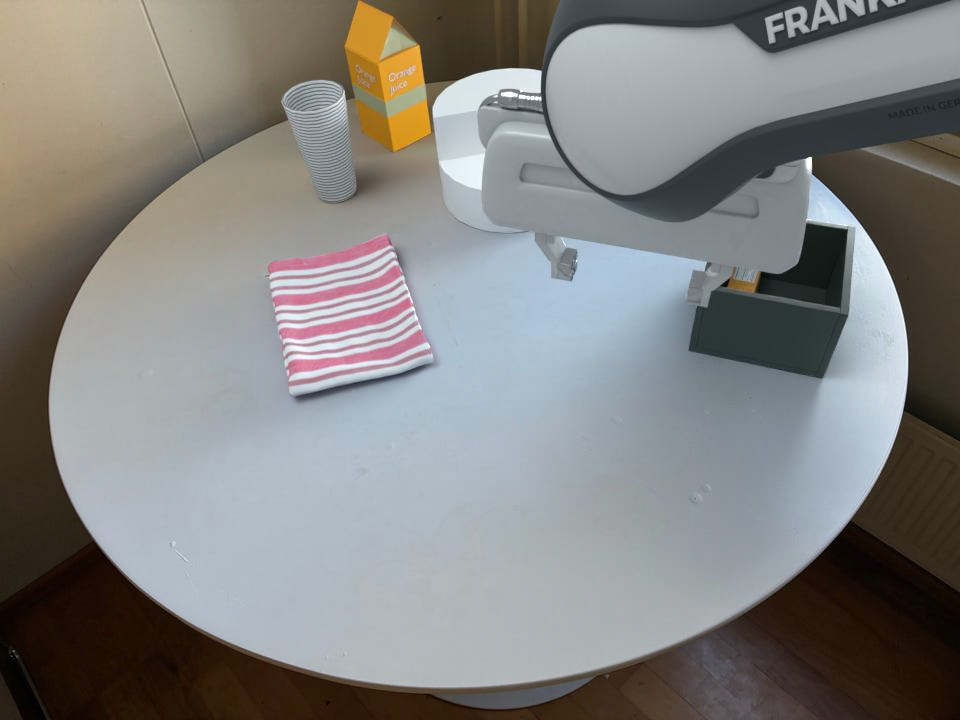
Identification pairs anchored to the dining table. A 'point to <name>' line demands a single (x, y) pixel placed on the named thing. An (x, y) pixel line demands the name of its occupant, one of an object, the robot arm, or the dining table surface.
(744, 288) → the supplement box
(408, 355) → the dish towel
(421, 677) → the dining table surface
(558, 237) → the robot arm
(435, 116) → the stepped white cylinder
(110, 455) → the dining table surface
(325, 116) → the cup
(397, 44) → the orange juice
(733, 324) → the storage bin
